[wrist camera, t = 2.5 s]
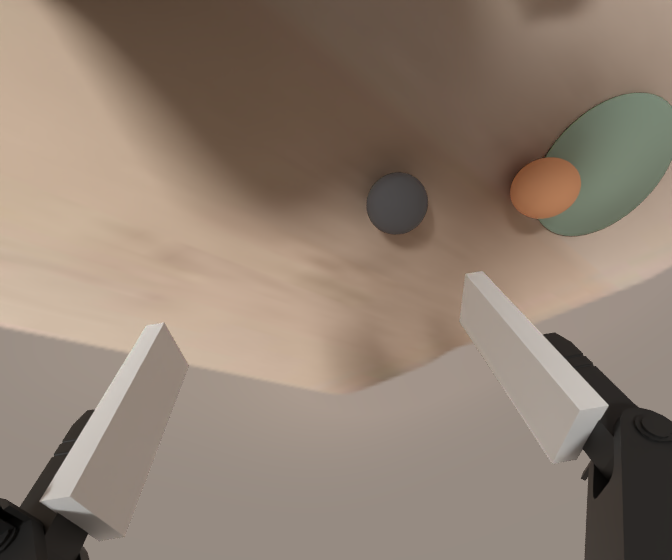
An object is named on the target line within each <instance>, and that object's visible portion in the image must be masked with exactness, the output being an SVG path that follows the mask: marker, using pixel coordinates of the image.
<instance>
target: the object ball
mask: <svg viewBox="0 0 672 560" xmlns="http://www.w3.org/2000/svg"><path fill="white" fill-rule="evenodd" d="M580 188H581V178H580V175H579V172H578V170H577V169H576V168H575V167H574V166H573V165H572V164H571V163H570V162H568V161H566V160H564V159H561V158H555V157H547V158H541V159H538V160H535V161H533V162H531V163H529V164H527V165H526V166H525V167H523V168H522V169H521V170H520V171H519V172H518V173H517V175H516V176H515V178H514V180H513V182H512V185H511V189H510V196H511V201H512V203H513V205H514V207H515V208H516V209H517V210H518V211H519V212H520V213H522V214H523V215H525V216H527V217H531V218H537V219H544V218H550V217H553V216H556V215H559V214H560V213H562V212H564V211H565V210H567V209H568V208H569V207H570V206H571V205H572V204H573V203H574V202H575V200H576V199H577V197H578V195H579V192H580Z"/></svg>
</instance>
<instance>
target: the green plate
mask: <svg viewBox="0 0 672 560" xmlns="http://www.w3.org/2000/svg"><path fill="white" fill-rule="evenodd" d="M547 157H555V158H561V159H564V160H566V161H568V162H570V163H571V164H572V165H573V166H574V167H575V168H576V169H577V170H578V172H579V175H580V178H581V188H580V192H579V195H578V197H577V199H576V200H575V202H574V203H573V204H572V205H571V206H570V207H569V208H568V209H567V210H565V211H564V212H562V213H560V214H559V215H556V216H553V217H550V218H544V219H539V221H540V222H541V224H542V225H543V226H544V227H546V228H547V229H549V230H550V231H552V232H554V233H556V234H560V235H565V236H579V235H585V234H589V233H593V232H596V231H598V230H601V229H603V228H605V227H607V226H610V225H612V224H613V223H615V222H617V221H618V220H620V219H621V218H623V217H624V216H626V215H627V214H629V213H630V212H631V211H632V210H633V209H635V208H636V207H637V206H638V205H639V204H640V203H641V202H642V201H643V200H644V199H645V198H646V197H647V196H648V195H649V194H650V193H651V192H652V191H653V189H654V188H655V187H656V186H657V184H658V183H659V181H660V180H661V178H662V177H663V175H664V174H665V172H666V170H667V168H668V167H669V164H670V162H671V160H672V107H671V105H670V104H669V103H668V102H667V101H665V100H664V99H663V98H661V97H659V96H656V95H654V94H648V93H630V94H624V95H621V96H617V97H614V98H611V99H609V100H607V101H605V102H602V103H601V104H599V105H597V106H595V107H593V108H592V109H590V110H589V111H587V112H586V113H585V114H583V115H582V116H581V117H579V118H578V119H577V120H576V121H575V122H573V123H572V124H571V125H570V126H569V127H568V128H567V129H566V130H565V131H564V132H563V133H562V135H561V136H560V137H559V138H558V139H557V140H556V142H555V143H554V144H553V146H552V147H551V149H550V150H549V152H548V153H547V155H546V157H545V158H547Z"/></svg>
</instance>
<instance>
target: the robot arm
mask: <svg viewBox="0 0 672 560" xmlns="http://www.w3.org/2000/svg"><path fill="white" fill-rule="evenodd" d="M459 322H460V323H461V325H462V326H463V328H464V329H465V331H466V332H467V334H468V335H469V337H470V339H471V340H472V342H473V343H474V345H475V346H476V348H477V349H478V351H479V352H480V354H481V355H482V357H483V358H484V360H485V362H486V363H487V365H488V366H489V368H490V369H491V371H492V372H493V374H494V375H495V377H496V378H497V380H498V381H499V383H500V385H501V386H502V388H503V389H504V390H505V392H506V394H507V395H508V397H509V398H510V400H511V401H512V403H513V404H514V406H515V408H516V409H517V411H518V412H519V414H520V415H521V417H522V418H523V420H524V421H525V423H526V424H527V426H528V427H529V428H530V430H531V432H532V433H533V435H534V437H535V438H536V440H537V441H538V443H539V444H540V446H541V447H542V449H543V450H544V452H545V453H546V455H547V457H548V458H549V460H550V461H551V463H552V464H553V463H559V462H565V461H571V460H576V459H577V458H578V456H579V455H580V453H581V451H582V450H584V451H585V452H586V454H587V455H588V456H589V458H590V459H591V461H590V463H589V464H588V466H587V467H586V469H585V470H584V472H583V474H582V477H581V479H583V480H586V479H587V477H588V496H587V519H586V539H585V540H586V541H585V560H672V421H670V420H669V419H667V418H666V417H664V416H663V415H660V414H658V413H656V412H654V411H651V410H647V409H643V408H639V407H637V406H636V405H635V404H634V403H633V402H632V401H631V400H630V399H629V398H627V396H626V395H625V394H624V393H623V392H622V391H621V390H620V389H619V388H617V387H616V386H615V385H614V384H613V383H612V382H611V381H610V380H609V379H608V378H607V377H606V376H605V375H604V374H603V373H602V372H601V371H600V370H599V369H598V368H597V367H596V366H593V363H592V362H591V361H590V360H589V359H588V358H587V357H586V356H583V353H582V352H581V351H580V350H579V349H578V348H577V347H575V345H574V344H573V343H572V342H570V341H568V340H567V339H565V338H563V337H562V336H560V335H558V334H556V333H549V334H544V335H542V334H541V333H540V332H539V330H538V329H537V328H536V327H535V326H534V325H533V324H532V323H531V322H530V321H529V320H528V319H527V318H526V317H525V316H524V315H523V313H522V312H521V311H520V310H519V309H518V308H517V307H516V306H515V305H514V304H513V303H512V302H511V301H510V300H509V299H508V297H507V296H506V295H505V294H504V293H503V292H502V291H501V290H500V289H499V288H498V287H497V286H496V285H495V284H494V283H493V282H492V280H491V279H490V278H489V277H488V276H487V275H486V274H485V273H484V272H483V271H479V272H473V273H467V274H465V280H464V288H463V296H462V304H461V312H460V320H459ZM188 367H189V365H188V363H187V361H186V360H185V358H184V356H183V354H182V353H181V351H180V349H179V347H178V346H177V344H176V342H175V340H174V339H173V337H172V335H171V333H170V332H169V330H168V328H167V327H166V325H165V323H158V324H152V325H146V327H145V328H144V330H143V332H142V333H141V335H140V337H139V338H138V340H137V342H136V343H135V345H134V347H133V348H132V350H131V351H130V353H129V355H128V356H127V358H126V360H125V361H124V363H123V365H122V366H121V368H120V370H119V371H118V373H117V374H116V376H115V378H114V379H113V381H112V383H111V384H110V386H109V388H108V389H107V391H106V393H105V394H104V396H103V398H102V399H101V401H100V402H99V404H98V406H97V407H96V409H94V410H88V411H86V412H85V413H84V414H83V415H82V416H81V417H80V419H78V420H77V421H76V422H75V423H74V424H73V426H72V427H71V428H70V430H69V432H68V433H67V435H66V436H65V438H64V439H63V443H62V444H60V445H59V447H58V449H57V450H56V452H55V453H54V457H52V458H51V460H50V461H49V463H48V464H47V466H46V467H45V469H44V470H43V472H42V474H41V475H40V476H39V478H38V480H37V481H36V483H35V484H34V486H33V487H32V489H31V490H30V492H29V494H28V495H27V497H26V498H25V500H24V501H23V503H22V504H21V506H20V507H18V506H16V505H14V504H13V503H11V502H9V501H8V500H6V499H1V498H0V560H89V557H88V553H87V551H86V550H85V548H84V547H83V544H84V541H85V539H86V537H87V535H88V534H89V535H91V536H92V537H94V538H95V539H97V540H98V541H103V540H109V539H115V538H120V537H125V534H126V532H127V529H128V526H129V523H130V521H131V518H132V515H133V513H134V510H135V507H136V505H137V502H138V500H139V497H140V494H141V492H142V489H143V486H144V484H145V481H146V479H147V476H148V473H149V470H150V468H151V465H152V462H153V460H154V457H155V454H156V452H157V449H158V446H159V444H160V441H161V439H162V435H163V433H164V431H165V428H166V425H167V423H168V420H169V417H170V414H171V412H172V410H173V407H174V404H175V402H176V399H177V396H178V394H179V391H180V388H181V386H182V383H183V380H184V377H185V375H186V372H187V370H188Z"/></svg>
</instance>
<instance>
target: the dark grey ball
mask: <svg viewBox="0 0 672 560" xmlns="http://www.w3.org/2000/svg"><path fill="white" fill-rule="evenodd" d="M427 207H428V197H427V193H426V190H425V188H424V186H423V185H422V184H421V182H420V181H419V180H418V179H416V178H415V177H413V176H412V175H409V174H406V173H400V172H398V173H391V174H388V175H385V176H383V177H382V178H380V179H379V180H378V181H377V182H376V183H375V184H374V185H373V186H372V188H371V189H370V192H369V194H368V197H367V213H368V216H369V218H370V220H371V222H372V223H373V224H374V225H375V226H376V227H377V228H378V229H379V230H381V231H383V232H385V233H388V234H403V233H407V232H409V231H411V230H413V229H414V228H415V227H417V226H418V225H419V224H420V223H421V221H422V220H423V218H424V216H425V214H426V211H427Z"/></svg>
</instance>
